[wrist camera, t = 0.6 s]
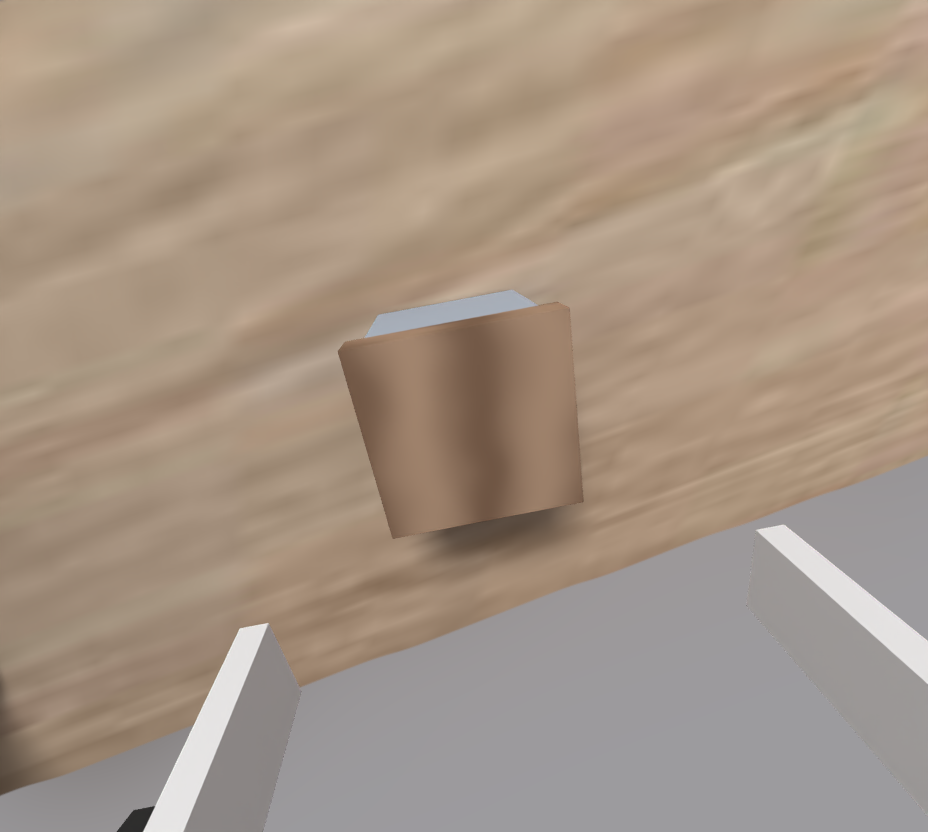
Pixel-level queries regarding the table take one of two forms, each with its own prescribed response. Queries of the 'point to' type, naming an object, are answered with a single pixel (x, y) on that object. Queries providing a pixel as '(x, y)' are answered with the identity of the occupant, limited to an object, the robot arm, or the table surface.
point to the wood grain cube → (469, 417)
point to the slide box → (448, 312)
